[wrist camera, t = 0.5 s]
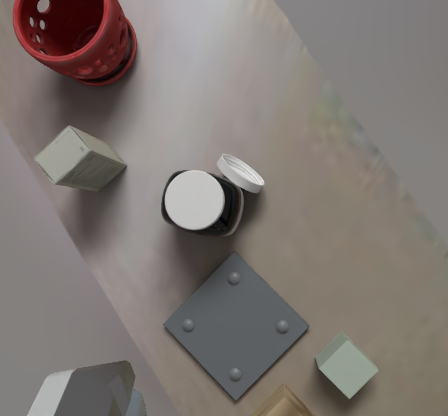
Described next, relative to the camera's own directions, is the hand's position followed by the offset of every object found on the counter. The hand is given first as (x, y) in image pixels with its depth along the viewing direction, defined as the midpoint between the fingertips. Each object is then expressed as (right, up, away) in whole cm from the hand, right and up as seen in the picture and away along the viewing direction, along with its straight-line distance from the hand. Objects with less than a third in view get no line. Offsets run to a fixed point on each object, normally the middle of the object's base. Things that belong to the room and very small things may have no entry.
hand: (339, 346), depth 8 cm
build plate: (-1, -13, +49) cm, 51 cm away
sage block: (+13, -17, +48) cm, 52 cm away
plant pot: (-21, +26, +55) cm, 64 cm away
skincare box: (-20, +8, +53) cm, 57 cm away
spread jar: (-3, +4, +51) cm, 51 cm away
